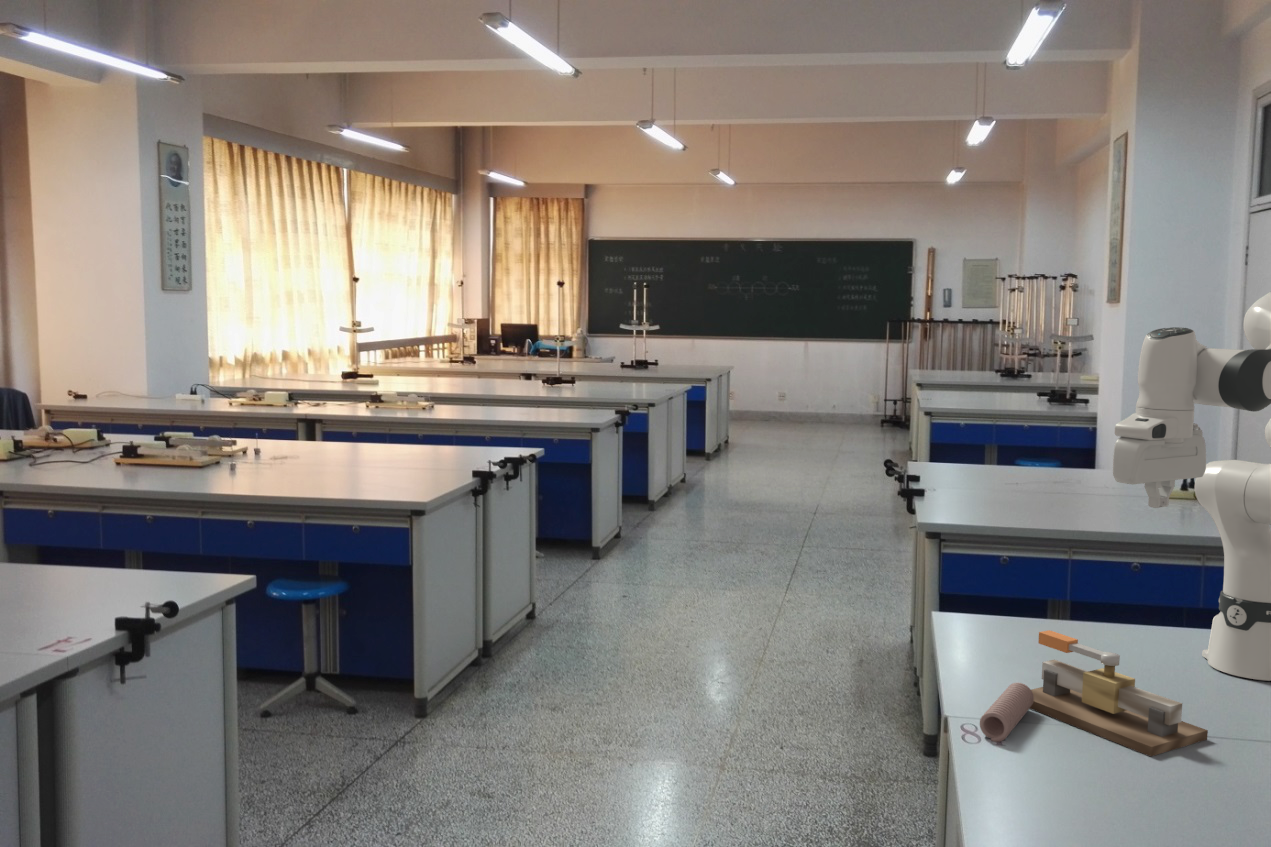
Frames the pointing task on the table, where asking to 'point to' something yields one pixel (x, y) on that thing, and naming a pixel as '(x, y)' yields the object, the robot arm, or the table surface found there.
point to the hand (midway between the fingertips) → (1158, 507)
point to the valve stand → (1113, 708)
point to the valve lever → (1076, 647)
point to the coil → (1006, 712)
